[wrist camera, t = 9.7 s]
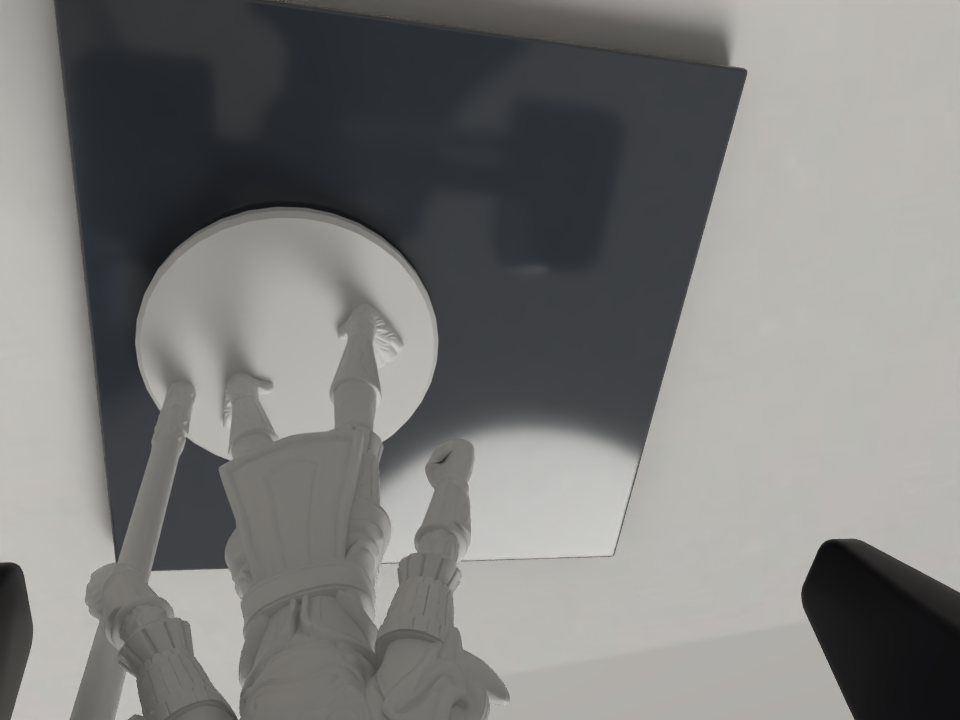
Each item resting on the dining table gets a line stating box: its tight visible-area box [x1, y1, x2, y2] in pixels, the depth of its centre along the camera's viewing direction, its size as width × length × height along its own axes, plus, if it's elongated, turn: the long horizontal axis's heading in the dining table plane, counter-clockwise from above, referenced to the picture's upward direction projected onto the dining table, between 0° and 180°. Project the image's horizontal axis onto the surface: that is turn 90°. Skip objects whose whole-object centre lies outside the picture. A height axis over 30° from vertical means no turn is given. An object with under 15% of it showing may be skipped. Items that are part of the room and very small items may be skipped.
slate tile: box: [54, 0, 747, 571], centre depth 14 cm, size 11×11×1 cm
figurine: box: [70, 207, 510, 720], centre depth 8 cm, size 5×5×12 cm
